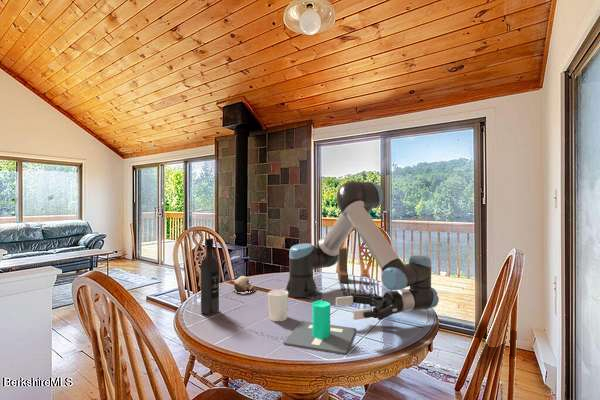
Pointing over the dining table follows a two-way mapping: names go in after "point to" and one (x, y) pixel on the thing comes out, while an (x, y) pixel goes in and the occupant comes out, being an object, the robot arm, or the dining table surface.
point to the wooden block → (342, 265)
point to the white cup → (278, 305)
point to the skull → (243, 285)
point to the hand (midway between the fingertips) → (344, 308)
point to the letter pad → (334, 343)
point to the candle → (321, 319)
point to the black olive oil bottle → (209, 281)
